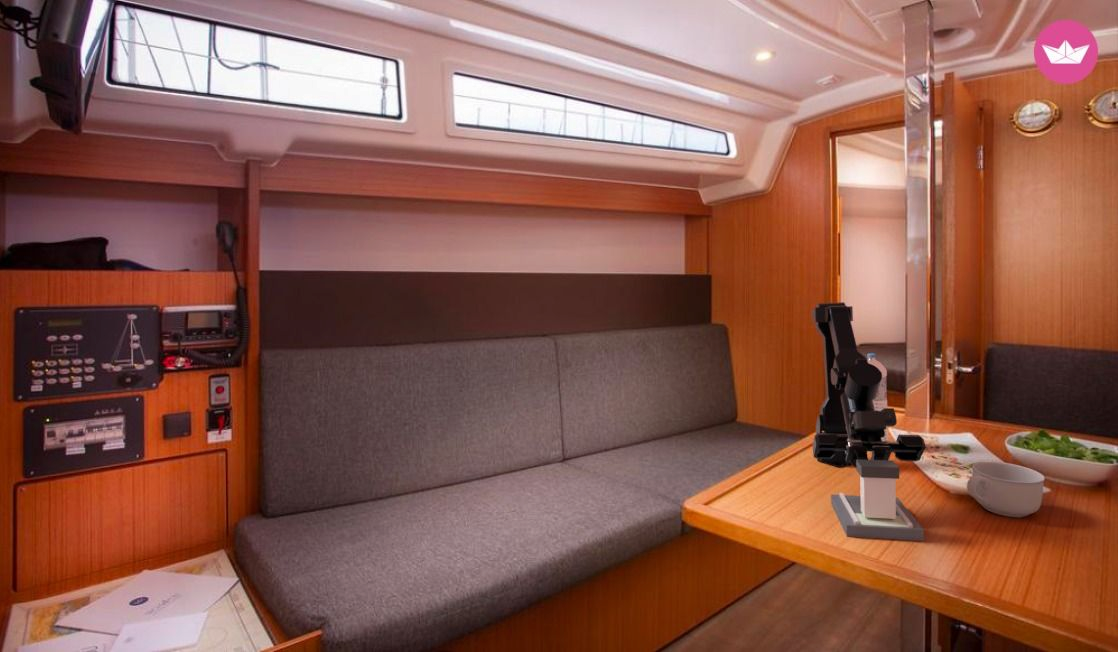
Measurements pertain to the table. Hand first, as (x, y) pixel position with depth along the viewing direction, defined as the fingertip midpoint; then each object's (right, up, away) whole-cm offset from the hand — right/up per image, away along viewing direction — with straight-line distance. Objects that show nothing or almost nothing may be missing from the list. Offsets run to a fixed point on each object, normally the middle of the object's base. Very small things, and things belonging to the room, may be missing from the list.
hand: (875, 488), depth 105 cm
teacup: (+25, -6, +3) cm, 26 cm away
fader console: (+1, -7, +2) cm, 7 cm away
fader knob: (0, -4, -1) cm, 5 cm away
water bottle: (+25, -3, +45) cm, 52 cm away
